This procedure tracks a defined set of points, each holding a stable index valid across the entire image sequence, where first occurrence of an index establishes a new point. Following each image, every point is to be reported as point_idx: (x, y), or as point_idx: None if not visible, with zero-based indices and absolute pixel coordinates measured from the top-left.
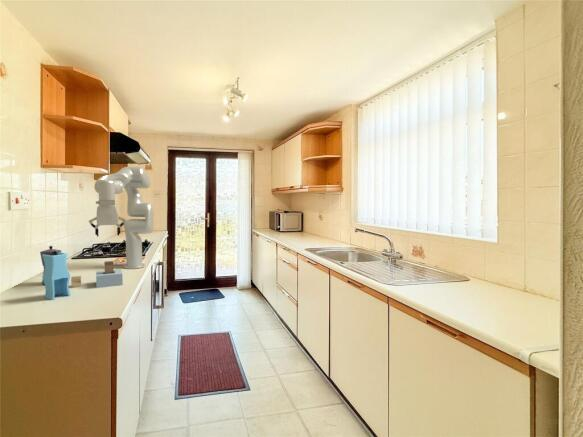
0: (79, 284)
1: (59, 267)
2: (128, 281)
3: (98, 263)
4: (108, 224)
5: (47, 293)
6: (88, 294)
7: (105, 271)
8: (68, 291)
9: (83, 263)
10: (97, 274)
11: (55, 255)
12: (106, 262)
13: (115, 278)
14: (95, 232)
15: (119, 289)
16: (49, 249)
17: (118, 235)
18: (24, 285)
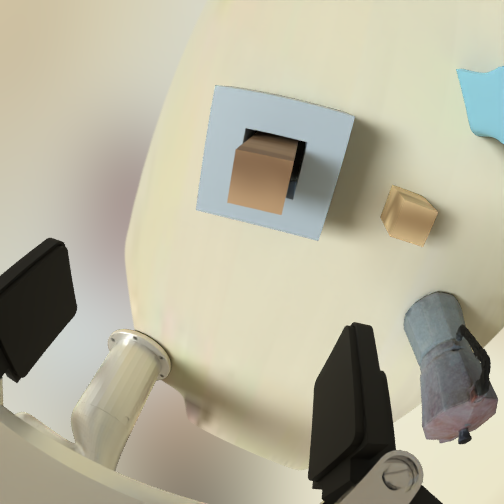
0: (399, 190)
1: None
2: (192, 139)
3: (230, 438)
4: (43, 452)
5: None
6: (399, 28)
7: (293, 149)
8: (471, 71)
9: (263, 453)
10: (335, 160)
11: None
12: (281, 160)
13: (256, 91)
14: (386, 398)
15: (266, 15)
16: (471, 425)
17: (60, 243)
18: (483, 333)
